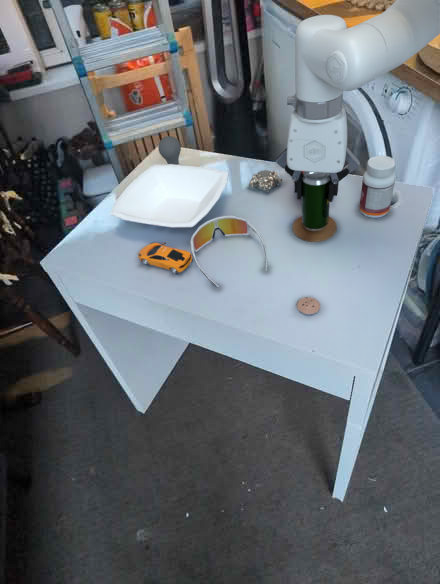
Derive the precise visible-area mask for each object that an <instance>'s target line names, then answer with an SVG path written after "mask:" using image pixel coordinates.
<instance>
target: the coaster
mask: <svg viewBox="0 0 440 584" xmlns="http://www.w3.org/2000/svg"><path fill="white" fill-rule="evenodd" d="M337 229H338V225H337V222H336V220H335V219H333V217H331V216H329V222H328V224H327V226H326V227H325V228H324V229H322V230H319V231H310V230H307V229H306V228H305V227H304V225H303V224H302V215H301V216H299V217H298V218H296V219H295V220H294V222H293V224H292V232H293V234H294V236H295V237H296V238H298V239H299V240H302V241H305V242H309V243H320V242H323V241H327V240H329V239H330V238H332V237H333V236H334V235H335V234H336V233H337Z"/></svg>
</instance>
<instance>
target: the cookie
mask: <svg viewBox="0 0 440 584" xmlns="http://www.w3.org/2000/svg"><path fill="white" fill-rule="evenodd" d="M296 307H297V310H298V311H299V312H300V313H302V314H305V315H313V314H316V313H318V312H319V311H320V309H321V303H320V301H319V300H318V299H316V298H314V297H310V296H306V297H302V298H300V299H298V300H297V303H296Z"/></svg>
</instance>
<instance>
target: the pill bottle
mask: <svg viewBox="0 0 440 584" xmlns="http://www.w3.org/2000/svg"><path fill="white" fill-rule="evenodd" d="M395 168H396V160H395V159H394V158H393V157H390V156H388V155H374V156H372V157H370V158H369V159H368V160H367V163H366V171H364V173H363V175H362V181H361V188H360V189H361V190H360V197H359V205H358V207H359V208H358V210H359V212H360V213H361V214H362V215H363V216H365V217H368V218H373V219H375V218H376V219H379V218H382V217H384V216H387V214H388V213H390V210H391V204H392V200H393V195H394V194H393V193H394V189H395V183H396V173H395V170H396V169H395Z"/></svg>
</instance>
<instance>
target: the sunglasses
mask: <svg viewBox="0 0 440 584" xmlns="http://www.w3.org/2000/svg"><path fill="white" fill-rule="evenodd" d="M250 230H251V231H252V232H253V233H254V234H256V235H257V237H258V238H259V240H260V242H261V244H262V247H263V250H264V255H265V256H264V257H265V268H264V269H265V272H267V271H268V252H267V247H266V244H265V242H264V240H263V238H262V236H261V234H260V231H258V230H257V228H256V227H255V226H254V225H253V224H252V223H251V222H250V221H249V220H248V219H247V218H243V217H239V216H236V215H222V216H217V217H214V218H211V219H209V220H207V221H205V222H204V223H202V224H201V225H199V226H198V227H197V228H196V230H195V232H194V233H193V234H192V235H191V238H190V242H189V243H190V250H191V255H192V257H193V259H194V261H195V264H196V266H197V268H198V269H199V271H200V272H201V273H202V275H204V277H205V278H206V279H207V280H208V281H209V282H210V283H212V285H213V286H215V288H219V287H220V286H219V285H218V284H217V283H216V282H215V281H214V280H213V279H211V277H210V276H209V275H208V274H207V273H206V272H205V270H204V269H203V268H202V266H201V265H200V264H199V262H198V260H197V257H196V253H198V252H199V251H200V250H201V249H202V248H203V247H206V245H208V244H209V243H211V242H213V240H214V239H215V235H216V232H217V231H219V232H220V233H221V234H222V235H223V236H225V237H235V236H237V237H238V236H249V235H250Z"/></svg>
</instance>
